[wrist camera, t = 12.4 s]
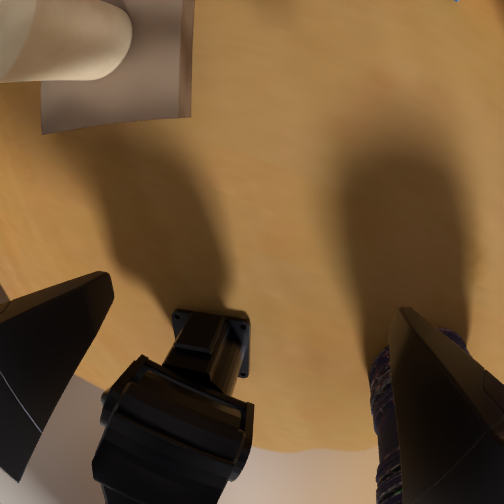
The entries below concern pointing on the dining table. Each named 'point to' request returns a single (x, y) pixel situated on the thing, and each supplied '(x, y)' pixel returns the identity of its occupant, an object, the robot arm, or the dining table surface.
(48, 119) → the grey square slab
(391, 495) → the storage jar
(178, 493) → the robot arm
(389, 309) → the dining table surface
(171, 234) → the dining table surface
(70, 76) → the candle
